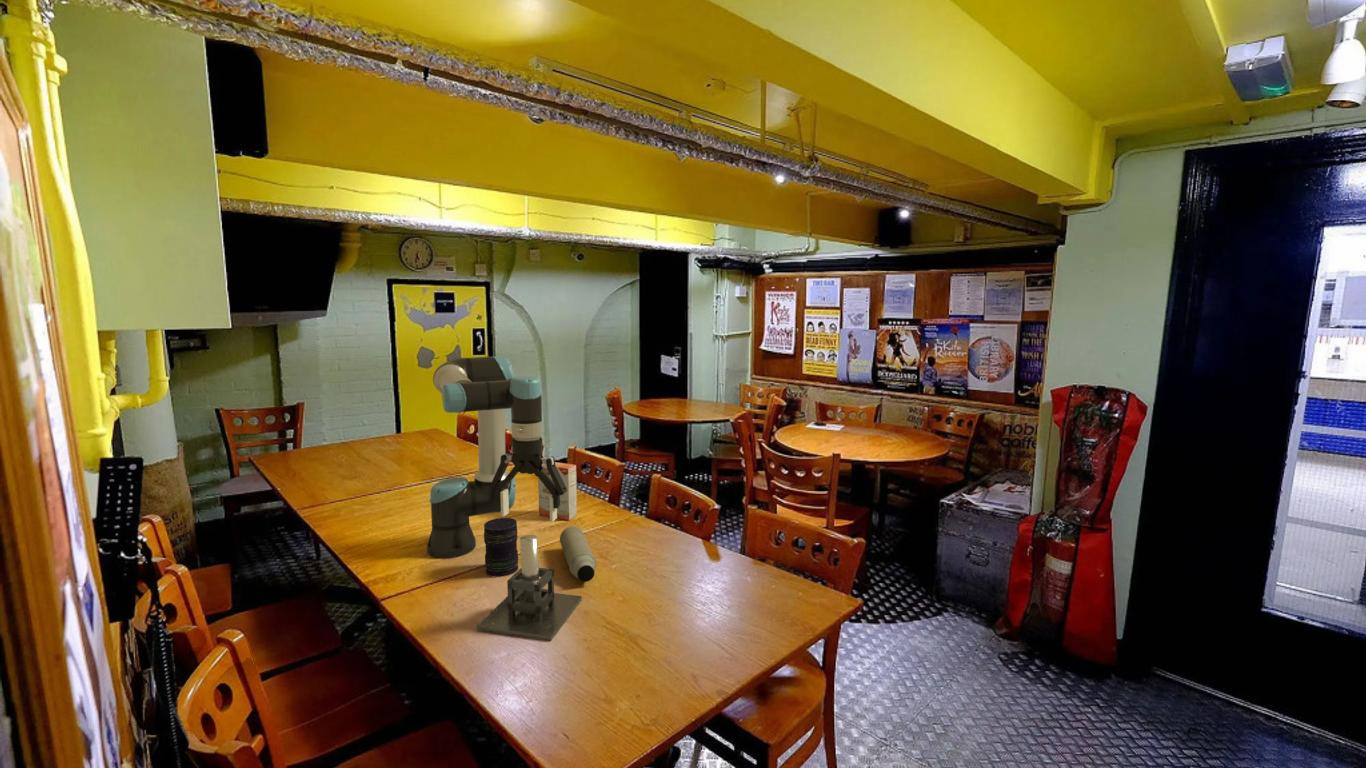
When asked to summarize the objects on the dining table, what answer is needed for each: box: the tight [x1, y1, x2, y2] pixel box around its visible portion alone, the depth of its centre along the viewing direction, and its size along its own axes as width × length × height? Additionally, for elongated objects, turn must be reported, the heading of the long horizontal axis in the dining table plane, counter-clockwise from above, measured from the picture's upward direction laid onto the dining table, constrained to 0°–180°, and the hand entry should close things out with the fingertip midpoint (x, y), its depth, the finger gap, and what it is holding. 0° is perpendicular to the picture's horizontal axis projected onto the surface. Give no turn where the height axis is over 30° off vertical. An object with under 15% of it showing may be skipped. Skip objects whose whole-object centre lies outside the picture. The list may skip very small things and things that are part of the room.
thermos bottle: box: [559, 525, 597, 583], centre depth 180 cm, size 8×8×28 cm
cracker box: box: [537, 461, 578, 521], centre depth 221 cm, size 14×6×21 cm, turn 68°
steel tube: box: [519, 534, 540, 615], centre depth 151 cm, size 5×5×20 cm
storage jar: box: [483, 517, 519, 578], centre depth 177 cm, size 10×10×15 cm
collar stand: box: [476, 567, 583, 642], centre depth 151 cm, size 20×20×11 cm
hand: (529, 517), depth 149 cm, fingers open, 13 cm apart
